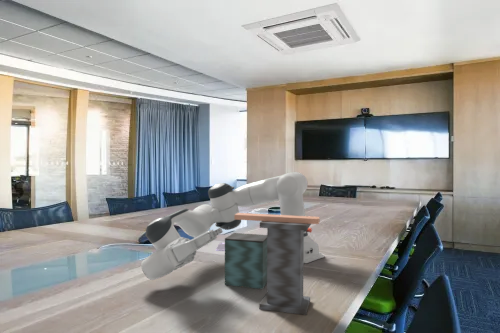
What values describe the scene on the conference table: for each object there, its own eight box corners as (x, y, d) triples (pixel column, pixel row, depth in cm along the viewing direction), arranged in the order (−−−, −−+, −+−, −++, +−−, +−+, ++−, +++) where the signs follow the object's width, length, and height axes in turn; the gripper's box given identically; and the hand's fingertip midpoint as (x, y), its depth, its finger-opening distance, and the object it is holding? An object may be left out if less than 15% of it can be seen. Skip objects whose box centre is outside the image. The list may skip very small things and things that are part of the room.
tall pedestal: (259, 308, 105) (259, 222, 104) (267, 296, 115) (267, 217, 114) (306, 314, 101) (306, 225, 100) (310, 301, 111) (310, 219, 110)
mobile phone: (215, 249, 172) (219, 242, 187) (215, 251, 172) (219, 243, 187) (230, 249, 171) (233, 242, 186) (230, 251, 171) (233, 244, 186)
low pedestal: (224, 284, 125) (224, 238, 125) (233, 275, 135) (233, 232, 134) (262, 288, 121) (262, 241, 121) (269, 279, 131) (269, 235, 130)
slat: (234, 219, 110) (234, 214, 110) (238, 217, 114) (238, 212, 114) (318, 224, 102) (318, 219, 102) (319, 221, 106) (319, 216, 106)
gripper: (199, 251, 127) (231, 234, 123) (171, 268, 107) (208, 249, 103) (191, 236, 127) (222, 219, 124) (162, 250, 108) (198, 230, 104)
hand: (215, 232), depth 114 cm, fingers open, 8 cm apart
